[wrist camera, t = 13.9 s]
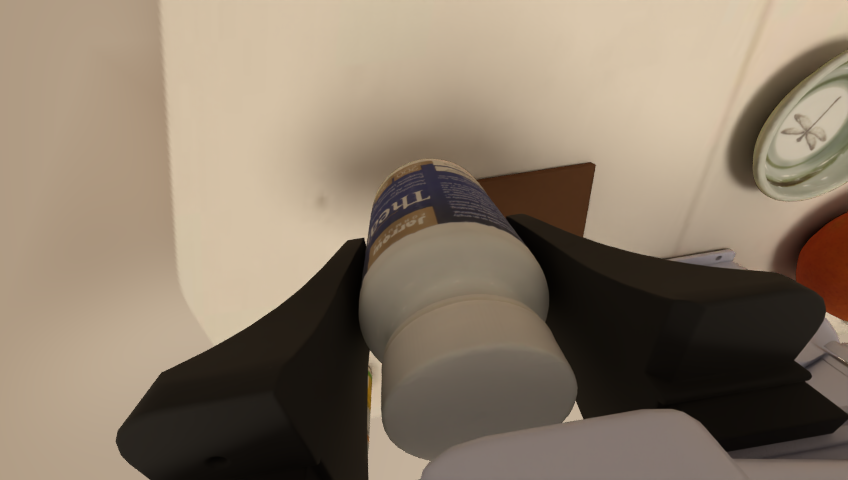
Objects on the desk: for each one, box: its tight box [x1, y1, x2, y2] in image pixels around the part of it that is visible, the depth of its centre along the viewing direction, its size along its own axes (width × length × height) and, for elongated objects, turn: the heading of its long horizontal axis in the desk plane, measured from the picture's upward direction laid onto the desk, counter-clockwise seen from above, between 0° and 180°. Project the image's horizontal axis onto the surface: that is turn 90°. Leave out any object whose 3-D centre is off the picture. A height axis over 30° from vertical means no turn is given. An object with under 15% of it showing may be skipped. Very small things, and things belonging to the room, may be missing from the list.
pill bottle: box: [358, 159, 578, 461], centre depth 10 cm, size 5×5×10 cm
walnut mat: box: [476, 162, 596, 237], centre depth 22 cm, size 9×9×1 cm
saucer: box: [753, 50, 848, 202], centre depth 19 cm, size 10×10×2 cm
